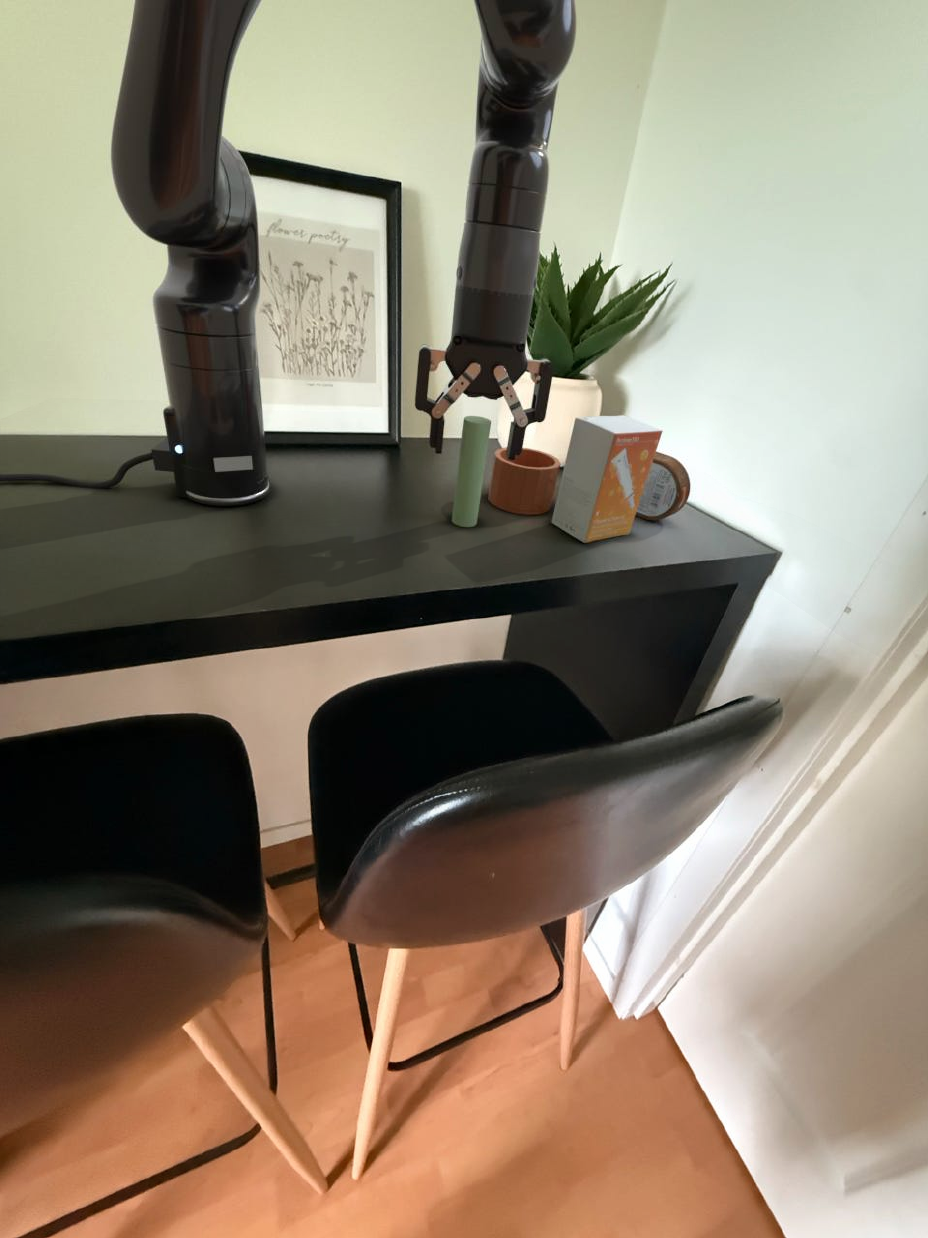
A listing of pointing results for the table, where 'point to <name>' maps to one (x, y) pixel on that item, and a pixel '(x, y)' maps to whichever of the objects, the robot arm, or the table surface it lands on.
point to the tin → (664, 489)
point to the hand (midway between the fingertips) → (474, 454)
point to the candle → (470, 470)
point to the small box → (604, 476)
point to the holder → (523, 481)
